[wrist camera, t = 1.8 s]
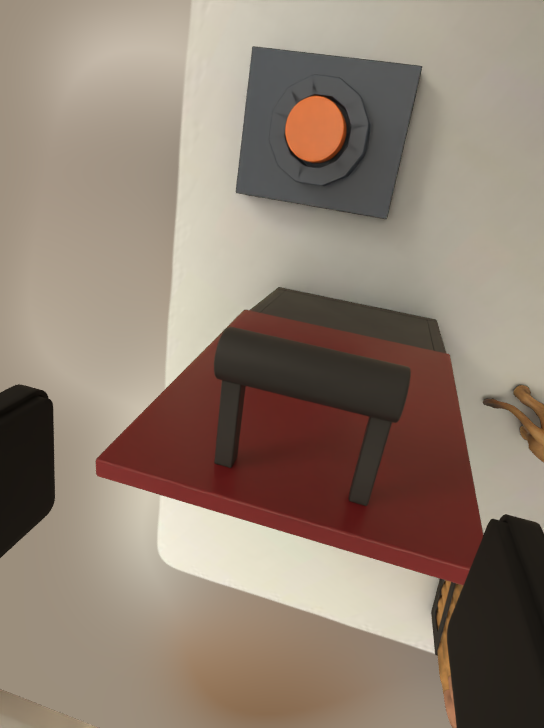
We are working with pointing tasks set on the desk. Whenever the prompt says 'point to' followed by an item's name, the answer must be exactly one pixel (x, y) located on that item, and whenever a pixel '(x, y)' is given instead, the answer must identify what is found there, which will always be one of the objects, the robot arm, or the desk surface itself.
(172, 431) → the lid
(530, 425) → the lion figurine
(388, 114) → the control block
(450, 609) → the ammunition clip
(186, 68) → the desk surface
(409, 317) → the dark grey box
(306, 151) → the button
